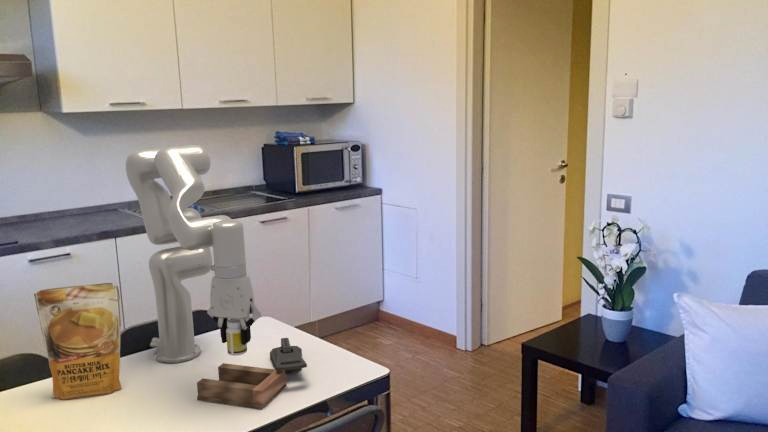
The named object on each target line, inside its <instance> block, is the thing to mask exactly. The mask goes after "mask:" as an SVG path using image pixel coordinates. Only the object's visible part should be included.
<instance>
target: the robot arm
mask: <svg viewBox="0 0 768 432" xmlns="http://www.w3.org/2000/svg"><path fill="white" fill-rule="evenodd" d="M210 169H211V158H210V155H209V153H208V151H207V150H206V149H205V148H204V147H203V146H201V145H199V144H187V145H173V146H167V147H154V148H145V149H138V150H136V151H133V152H131V153H130V154H128V156H127V157H126V160H125V173H126V177H127V180H128V182H129V185H130V187H131V188H132V190H133V192H134V193H135V196H136V198H137V199H138V203H139V207H140V212H141V216H142V220H143V223H144V229H145V231H146V235H147V237H148V241H149V242H150V243H151V244H153V245H155V246H160V245H161V246H162V245H169V244H176V243H178V244H179V245H180V246H175V247H169V248H165V249H161V250H158V251H156V252H154V253H153V254H152V255H151V256H150V258H149V259H148V260H149V261H148V268H149V273H150V276H151V279H152V284H153V289H154V294H155V295H154V297H155V304H156V314H157V315H156V316H157V317H156V318H157V325H158V326H157V327H158V336H159V337H153V338H152V339H151V342H150V344H149V346H150V347H151V348H157V349H156V350H157V351H156V352H155V353H154V355H155V359H156V360H157V361H158V362H160V363H167V364H176V363H183V362H187V361H190V360H192V359H195V358H196V357H198V356H199V355H200V354H201V352H202V349H201V348H202V347H201V346H200V345H198V344H196V342H195V331H194V321H193V320H194V319H193V318H194V317H193V309H192V297H191V293H190V291H189V290H188V288H186V287H185V286H184V285H183V283H182V281H184V280H187V279H192V278H196V277H201V276H205V275H207V274H209V273H210V272H211V271H213V272H214V273H213V274H214V275H213V276H212V277H211V282H210V294H209V295H210V300H209V301H210V302H209V303H210V307H209V308H208V310H207V312H206V313H207V315H208V316H210V318H212V319H213V320H214V322H216V324H217V328H219V330H220V338H221V343H222V344H225V343H227V338H226V329H227V328H228V327H227V320H229V319H231V318H232V319H240V322H241V325H242V328H243V329H241V344H242V345H245V344H247V345H248V343H249V342H251V339H252V336H251V335H252V333H251V327H252V326H253V324H254V323H256V321H257V320H258V319H259V318H261V317H262V313H261V312H260V311H259V309H258V308H257V306H256V304H255V296H254V289H253V285H252V281H251V278H250V275H249V274H248V273H247V263H246V262H247V260H246V247H245V235H244V234H245V231H244V224H243V223H242V222H241V220H238V219H233V218H231V217H230V216H227V215H226V214H225V215H224V214H219V215H212V216H206V217H202V216H201V214H200V213H199V211H197V209H195V208H192V207H190V206H193V204H195V203H196V202H198V201H199V200H200V199H201V198H202V197H203V195H204V193H205V189H206V187H205V184H204V182H203V180H202V179H201V177H200V176H203V175H206V174H207V173H209V170H210ZM156 179H162V181H163V183H164V185H165V186H166V188H165V187H164V186H163V185H162V184H161V183H160V182H158V181H156ZM171 196H172V197H171ZM211 247H212V252H211ZM212 253H213V254H212ZM212 255H213V257H212ZM250 315H252V316H250Z"/></svg>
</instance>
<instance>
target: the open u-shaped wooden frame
mask: <svg viewBox="0 0 768 432" xmlns="http://www.w3.org/2000/svg"><path fill="white" fill-rule="evenodd" d="M217 371H218V379H212V378H201V379H200V380H198V381H197V382H196V388H197V389H196V390H197V396H196V401H198V402H204V403H205V402H206V403H212V404H213V403H215V404H219V405H220V404H221V405H226V406H233V407H240V408H249V409H255V410H260V411H261V410H264V408H266V407H267V406H268V405H269V404H270V403H271V402H272V401H273V400H274V399H275V398H276V397H277V396H278V395H279V394H280V393H281V392H283V391H284V389H285V388H286V387H287V384H288V383H287V382H286V374H285V371H284V370H282V371H277V370H275V368H266V367H258V366H257V367H256V366H250V365H249V366H248V365H243V364H234V363H233V364H232V363H224V362H223V363H221V364H220V365H219V366H217Z"/></svg>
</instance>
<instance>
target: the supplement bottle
mask: <svg viewBox="0 0 768 432" xmlns="http://www.w3.org/2000/svg"><path fill="white" fill-rule="evenodd" d="M227 327H228V328H227V329H226V338H227V342H226V348H227V354H228V355H229V356H235V357H236V356H242V355H244V354H246V353H247V351H248V343H247V344H245V345H242V344H241V329H243V328H242V325H241V322H240V319H232V318H228V320H227Z"/></svg>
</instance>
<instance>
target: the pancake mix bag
mask: <svg viewBox="0 0 768 432" xmlns="http://www.w3.org/2000/svg"><path fill="white" fill-rule="evenodd" d="M113 284H114V283H113V282H104V283H96V284H95V283H93V284H87V285H72V286H63V287H62V286H60V287H53V288H47V289H41V290H39V291H37V292H35V293H33V296H34V300H35V305H36V310H37V315H38V318H39V322H40V323H39V324H40V330H41V334H42V338H43V342H44V348H45V350H46V354H47V359H48V365H49V369H50V373H51V377H52V378H51V379H52V396H51V398H52V399H60V400H67V401H68V400H73V399H84V398H89V397H90V398H91V397H98V396H107V395H111V394H114V393H115V392H116V391H118V390H122V389H123V387H122V384H121V380H120V373H121V372H120V369H121V337H122V336H121V335H122V334H121V326H122V320H121V307H120V306H121V305H120V298H121V297H120V290H119V287H118V285H113Z"/></svg>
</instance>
